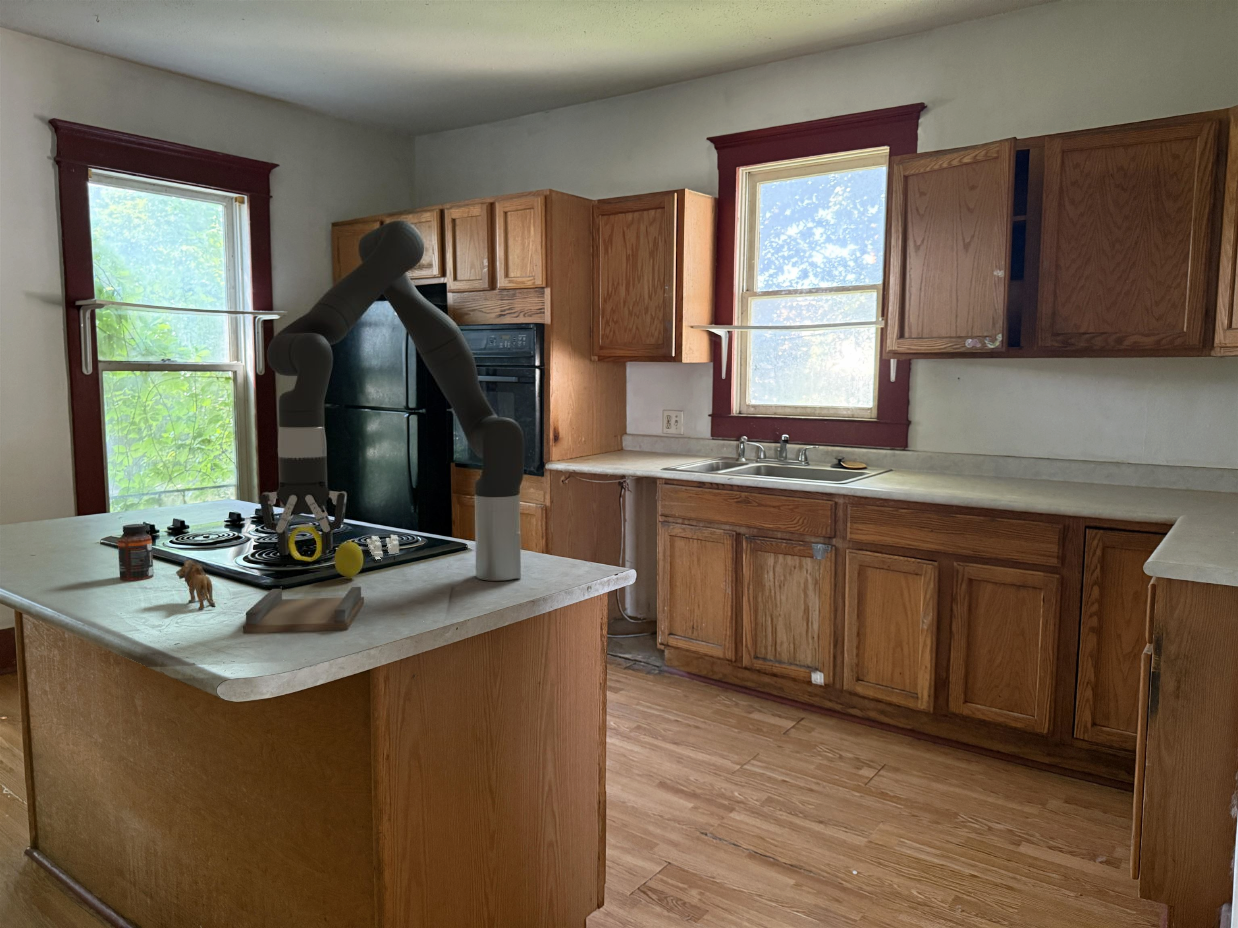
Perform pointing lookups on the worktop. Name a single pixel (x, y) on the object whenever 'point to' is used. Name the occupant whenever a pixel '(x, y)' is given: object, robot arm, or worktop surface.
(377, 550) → the modular blocks
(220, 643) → the worktop surface
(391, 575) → the worktop surface
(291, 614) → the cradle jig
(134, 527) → the supplement bottle
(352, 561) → the lemon
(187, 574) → the lion figurine
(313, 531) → the watch
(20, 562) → the worktop surface
